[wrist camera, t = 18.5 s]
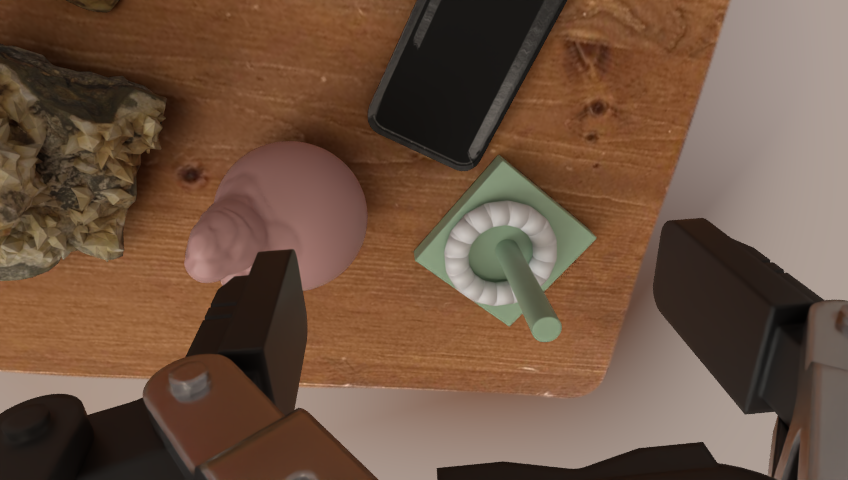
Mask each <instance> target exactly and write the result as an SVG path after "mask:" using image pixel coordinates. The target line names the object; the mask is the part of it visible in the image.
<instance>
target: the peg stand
mask: <svg viewBox="0 0 848 480" xmlns="http://www.w3.org/2000/svg"><path fill="white" fill-rule="evenodd" d="M507 200H509V201H513V202H517V203H521V204H525V205H529V206H531V207H532V208H534V209H535V210H536V211H537V212H539V213H540V214H541V215H543V216H544V217H545V218H546V219H547V220H548V222H549V224H550V226H551V228H552V230H553V232H554V234H555V236H556V240H557V260H556V262H555V265H554V267H553V269H552V272H551V274H550V277H549V278H548V280H547V281H546V282H545V283H544V284H543V285H542V286H540V285H539V283H538V281H537V279H536V277H535V276H534V274H533V272H532V270H531V268H530V267H529V263H530V260H531V258H532V255H533V248H532V242H531V240H530V238H529V236H528V235H527V234H526V233H525V232H523V231H522V230H521V229H519V228H516V227H512V226H508V225H504V226H497V227H492V228H490V229H488V230H487V231H485V232H483V233H481V234H480V235H479V236H478V237H477V238H476V240H475V241H474V242H473V243H472V245H471V248H470V251H469V254H468V257H469V266H470V267H471V269H472V271H473V272H474V274H475V275H477V276H478V277H480V278H481V279H482V280H485V281H490V282H494V283H496V282H504V281H508V282H509V284H510V286H511V288H512V291H513V293H514V295H515V297H516V299H517V303H513V304H506V305H499V306H491V305H487V304H482V303H477V302H475V303H477V304H478V305H479V306H481V307H482V308H484V309H485V310H487V311H488V312H489V313H491V314H492V315H494V316H495V317H497V318H498V319H499V320H501V321H502V322H504V323H505V324H506V325H508V326H511V325H512V323H513V322H514V321H515V320H516V319H517V318H518V317H519V316H520V315H521V314H522V313H523V315H524V317H525V319H526V321H527V324H528V326H529V328H530V330H531V332H532V335H533V336H534V338H535V339H536V340H538V341H541V342H549V341H552V340H554V339H556V338H557V337H558V336H559V334H560V332H561V329H562V326H561V323H560V321H559V319H558V317H557V315H556V313H555V312H554V310H553V308H552V306H551V304H550V303H549V301H548V299H547V297H546V295H545V294H544V291H545V290H546V289H547V288H548V287H549V286H550V285H551V284H552V283H553V282H554V281H555V280H556V279H557V278H558V277H559V276H560V275H561V274H562V273H563V272H564V271H565V270H566V269H567V268H568V267H569V266H570V265H571V264H572V263H573V262H574V261H575V260H576V259H577V258H578V257H579V256H580V255H581V254H582V253H583V252H584V251H585V250H586V249H587V248H588V247H589V246H590V245H591V244H592V243H593V242H594V241H595V240H596V236H595V235H594V234H593V233H592V232H591V231H590V230H589V229H588V228H587V227H586V226H585V225H583V224H582V223H581V222H580V221H579V220H577V219H576V218H575V217H574V216H573V215H571V214H570V213H569V212H568V211H566V210H565V209H564V208H563V207H562V206H560V205H559V204H558V203H557V202H556V201H554V200H553V199H552V198H551V197H550V196H548V195H547V194H546V193H545V192H544V191H542V190H541V189H540V188H539V187H538V186H536V185H535V184H534V183H533V182H532V181H530V180H529V179H528V178H527V177H525V176H524V175H523V174H522V173H521V172H519V171H518V170H517V169H516V168H515V167H513V166H512V165H511V164H510V163H509V162H507V161H506V160H505V159H504V158H503V157H501V156H500V155H498V156H497V157H496V158H495V159H494V160H493V161H492V163H491V164H490V165H489V166H488V167H487V168H486V169H485V171H484V172H483V173H482V174H481V175H480V176H479V177H478V179H477V180H476V181H475V182H474V183H473V184H472V185H471V187H470V188H469V189H468V190H467V191H466V192H465V193H464V195H463V196H462V197H461V198H460V199H459V200H458V201H457V203H456V204H455V205H454V206H453V207H452V208H451V209H450V211H449V212H448V213H447V214H446V215H445V216H444V217H443V219H442V220H441V221H440V222H439V223H438V224H437V225H436V227H435V228H434V229H433V230H432V231H431V232H430V233H429V235H428V236H427V237H426V238H425V239H424V240H423V241H422V242H421V244H420V245H419V246H418V247H417V248H416V249H415V250H414V256H415V261H417V262H418V263H419V264H421V265H422V266H424V267H425V268H427V269H428V270H429V271H431V272H432V273H434V274H435V275H437V276H438V277H439V278H441V279H442V280H444V281H445V282H447V283H448V284H449V285H451V286H452V287H454V288H455V286H454V285H453V283H452V281H451V280H450V278H449V276H448V275H447V273H446V266H445V257H444V250H445V247H446V244H447V241H448V238H449V235H450V232H451V230H452V229H453V228H454V227H455V226H456V224H457V223H458V222H459V221H460V220H461V219H462V217H463V216H464V215H465V214H467V213H468V212H470V211H472V210H474V209H476V208H478V207H480V206H481V205H483V204H485V203H491V202H499V201H507ZM455 289H456V288H455Z"/></svg>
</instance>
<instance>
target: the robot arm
mask: <svg viewBox="0 0 848 480" xmlns="http://www.w3.org/2000/svg"><path fill="white" fill-rule="evenodd" d="M653 293H654V298H655V302H656V305H657V307H658V309H659V311H660V312H661V314H662V315H663V316H664V317H665V318H666V320H667V321H668V322H669V323H670V324H671V325H672V326H673V328H674V329H675V330H676V332H677V333H678V334H679V335H680V336H681V338H682V339H683V340H684V341H685V342H686V344H687V345H688V346H689V347H690V349H691V350H692V351H693V352H694V353H695V355H696V356H697V357H698V358H699V359H700V361H701V362H702V363H703V364H704V365H705V367H706V368H707V369H708V370H709V371H710V373H711V374H712V375H713V376H714V377H715V379H716V380H717V381H718V382H719V384H720V385H721V386H722V387H723V388H724V390H725V391H726V392H727V393H728V394H729V396H730V397H731V398H732V399H733V400H734V402H735V403H736V404H737V405H738V406H739V408H740V409H741V410H742V411H743V413H744V414H755V413H765V412H776V414H777V415H778V417H777V420H776V424H775V427H774V430H773V436H772V445H771V453H770V461H769V469H768V476H767V475H764V474H761V473H758V472H755V471H751V470H748V469H745V468H741V467H736V466H731V465H726V464H719V463H717V462H716V460H715V459H714V458H713V456H712V455H711V453H710V452H709V450H708V449H707V447H706V446H705V444H704V443H703V442H698V443H687V444H677V445H668V446H657V447H647V448H638V449H635V450H632V451H630V452H627V453H624V454H621V455H618V456H615V457H612V458H610V459H607V460H604V461H601V462H598V463H595V464H592V465H590V466H586V467H584V468H579V469H567V468H558V467H548V466H539V465H530V464H521V463H512V462H494V463H485V464H474V465H464V466H454V467H443V468H437V479H438V480H848V301H845V300H823V299H822V298H821V297H819V296H818V295H816V294H815V293H814V292H812V291H811V290H810V289H808V288H807V287H806V286H804V285H803V284H802V283H800V282H799V281H798V280H796V279H795V278H793V277H792V276H791V275H790V274H788V273H784V270H783V269H781V268H780V267H779V266H777V265H776V264H775V263H770V260H769V259H768V258H767V257H765V256H764V255H763V254H761V253H760V252H758V251H757V250H756V249H755V248H753V247H750V246H748V245H746V244H744V243H741V242H739V241H736V240H734V239H732V238H730V237H729V236H727V235H726V234H725V233H723V232H722V231H721V230H720V229H718V228H717V227H716V226H714V225H713V224H712V223H710V222H709V221H708V220H706V219H704V218H697V219H684V220H672V221H667V222H666V223H665V224H664V226H663V228H662V231H661V236H660V243H659V249H658V257H657V263H656V269H655V276H654V283H653ZM306 342H307V315H306V308H305V302H304V296H303V290H302V284H301V277H300V271H299V265H298V260H297V255H296V252H295V250H294V249H287V250H274V251H261V252H258V253H257V255H256V258H255V260H254V263H253V265H252V267H251V270H250V272H249V275H244V276H234V277H233V278H232V279H230V280H229V281H228V282H227V283H226V284H224V285H223V286H222V287H221V288H220V289H218V291H217V293H216V295H215V297H214V299H213V301H212V303H211V308H209V309H208V311H207V313H206V315H205V320H203V322H202V324H201V326H200V328H199V330H198V332H197V334H196V336H195V338H194V340H193V342H192V345H191V347H190V349H189V351H188V353H187V355H186V357H185V358H182V359H179V360H177V361H174V362H172V363H170V364H168V365H167V366H165V367H163V368H162V369H160V370H159V371H158V372H156V373H155V374H154V375H153V376H152V377H151V378H150V379H149V381H148V382H147V384H146V385H145V387H144V390H143V398H141V399H138V400H136V401H133V402H130V403H127V404H124V405H120V406H117V407H113V408H110V409H107V410H103V411H100V412H96V413H93V414H90V415H87V413H86V411H85V408H84V406H83V404H82V402H81V401H80V400H79V399H78V398H77V397H75V396H72V395H68V394H51V395H45V396H40V397H37V398H33V399H30V400H27V401H25V402H22V403H20V404H17V405H15V406H13V407H11V408H9V409H7V410H6V411H4V412H3V413H1V414H0V480H378V479H377V478H376V477H375V476H374V475H373V474H372V473H371V472H370V471H369V470H368V469H367V468H366V467H365V466H364V465H363V464H362V463H361V462H360V461H359V460H357V458H355V457H354V456H353V455H352V454H351V453H350V452H349V451H348V450H347V449H346V448H345V447H344V446H343V445H342V444H341V443H340V442H339V441H338V440H337V439H336V438H334V436H333V435H332V434H331V433H329V432H328V431H327V430H326V429H325V428H324V427H323V426H322V425H321V424H320V423H319V422H318V421H317V420H316V419H315V418H314V417H313V416H312V415H311V414H310V413H308V412H307V411H306V410H304V409H302V408H298V409H296V410H294V409H295V403H296V398H297V392H298V387H299V381H300V376H301V370H302V364H303V359H304V353H305V348H306Z"/></svg>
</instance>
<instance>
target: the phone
mask: <svg viewBox="0 0 848 480" xmlns="http://www.w3.org/2000/svg"><path fill="white" fill-rule="evenodd" d="M566 2H567V0H417V1H416V4H415V6H414V8H413V10H412V12H411V15H410V17H409V19H408V21H407V23H406V26H405V28H404V30H403V32H402V35H401V37H400V39H399V41H398V43H397V46H396V48H395V50H394V52H393V54H392V57H391V59H390V61H389V63H388V65H387V68H386V70H385V72H384V74H383V77H382V79H381V81H380V83H379V85H378V88H377V90H376V92H375V94H374V96H373V99H372V101H371V103H370V105H369V109H368V122H369V124H370V127H371V128H372V129H373V130H374V131H375V132H377V133H378V134H380V135H382V136H384V137H386V138H388V139H391V140H393V141H395V142H397V143H399V144H401V145H404V146H406V147H408V148H410V149H412V150H414V151H417V152H419V153H421V154H423V155H425V156H427V157H430V158H432V159H434V160H436V161H438V162H440V163H442V164H445V165H447V166H449V167H451V168H453V169H455V170H459V171H468V170H470V169H473V168H474V167H475V166H477V164H478V163H479V162H480V160H481V158H482V156H483V154H484V153H485V151H486V149H487V147H488V145H489V143H490V142H491V140H492V138H493V136H494V134H495V132H496V130H497V129H498V127H499V125H500V123H501V121H502V119H503V118H504V116H505V114H506V112H507V110H508V108H509V107H510V105H511V103H512V101H513V99H514V97H515V96H516V94H517V92H518V90H519V88H520V86H521V85H522V83H523V81H524V79H525V77H526V75H527V73H528V72H529V70H530V68H531V66H532V64H533V62H534V61H535V59H536V57H537V55H538V53H539V51H540V50H541V48H542V46H543V44H544V42H545V40H546V39H547V37H548V35H549V33H550V31H551V29H552V27H553V26H554V24H555V22H556V20H557V18H558V16H559V15H560V13H561V11H562V9H563V7H564V5H565V4H566Z"/></svg>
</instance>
